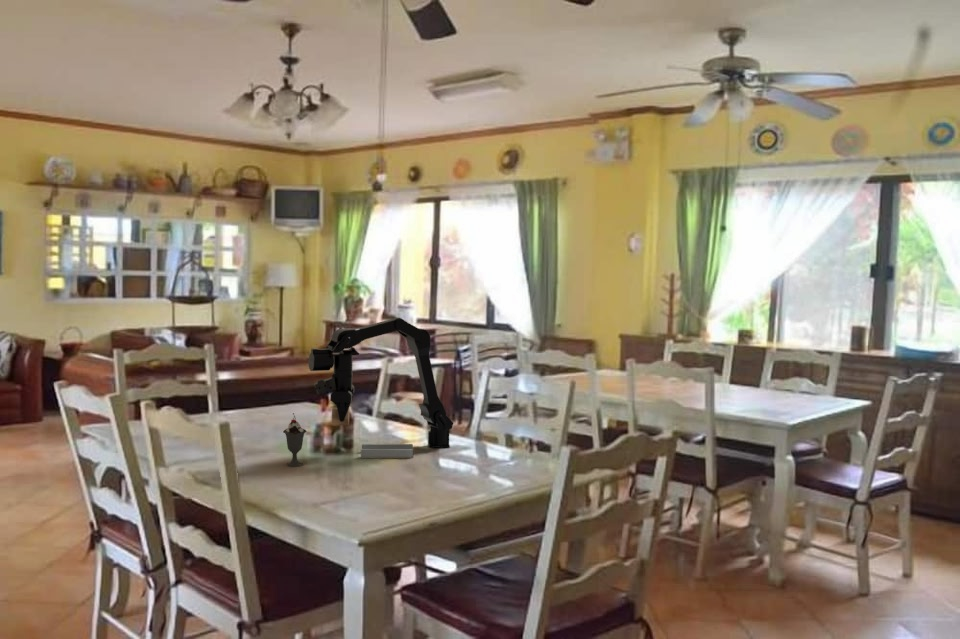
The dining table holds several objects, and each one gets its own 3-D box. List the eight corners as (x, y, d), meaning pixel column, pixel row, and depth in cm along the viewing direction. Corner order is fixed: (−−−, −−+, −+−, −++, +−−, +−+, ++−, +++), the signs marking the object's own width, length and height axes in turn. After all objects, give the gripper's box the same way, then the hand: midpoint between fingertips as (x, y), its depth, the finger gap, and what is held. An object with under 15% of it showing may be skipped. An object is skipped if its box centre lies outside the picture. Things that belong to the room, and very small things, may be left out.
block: (349, 422, 266) (349, 406, 265) (348, 425, 261) (348, 409, 260) (333, 422, 265) (333, 406, 265) (331, 425, 260) (332, 409, 260)
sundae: (293, 460, 254) (294, 411, 253) (310, 464, 250) (311, 413, 249) (278, 465, 248) (278, 414, 247) (295, 468, 245) (295, 417, 244)
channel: (412, 451, 270) (412, 444, 270) (413, 457, 262) (413, 449, 261) (361, 451, 268) (362, 443, 268) (360, 457, 260) (360, 449, 260)
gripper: (319, 365, 270) (318, 414, 271) (313, 373, 252) (313, 425, 253) (354, 366, 271) (353, 414, 272) (351, 374, 253) (350, 425, 254)
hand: (342, 419), depth 263 cm, fingers closed on block, 5 cm apart
